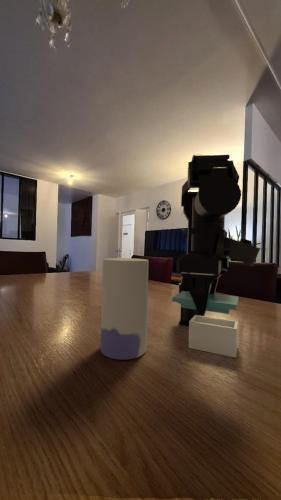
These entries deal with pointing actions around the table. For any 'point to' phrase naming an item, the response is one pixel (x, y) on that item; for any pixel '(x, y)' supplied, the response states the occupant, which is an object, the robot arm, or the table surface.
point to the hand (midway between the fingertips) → (205, 308)
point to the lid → (214, 302)
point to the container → (124, 307)
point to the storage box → (213, 335)
